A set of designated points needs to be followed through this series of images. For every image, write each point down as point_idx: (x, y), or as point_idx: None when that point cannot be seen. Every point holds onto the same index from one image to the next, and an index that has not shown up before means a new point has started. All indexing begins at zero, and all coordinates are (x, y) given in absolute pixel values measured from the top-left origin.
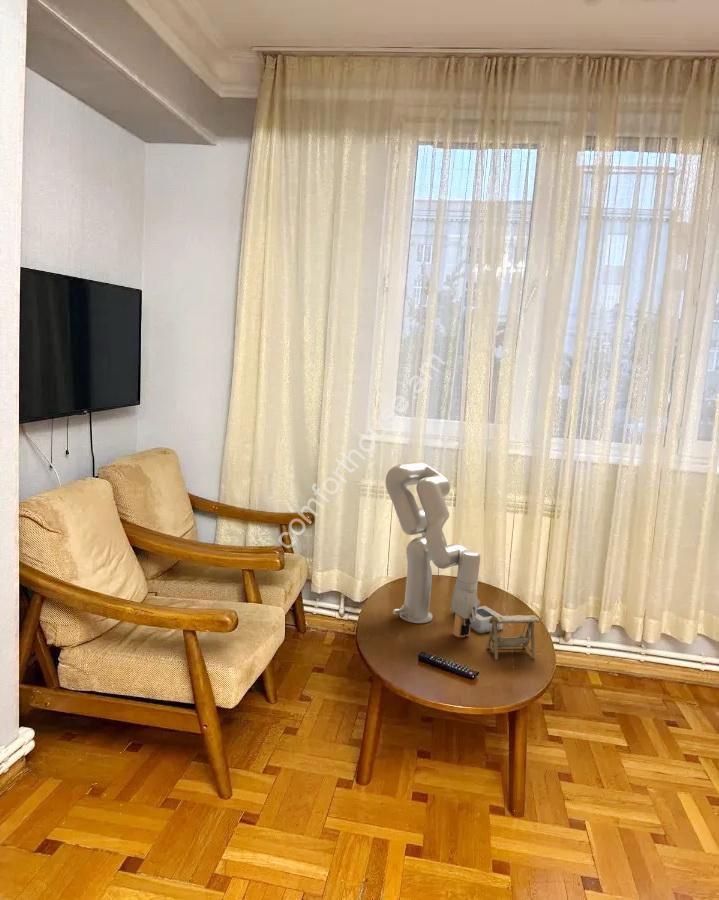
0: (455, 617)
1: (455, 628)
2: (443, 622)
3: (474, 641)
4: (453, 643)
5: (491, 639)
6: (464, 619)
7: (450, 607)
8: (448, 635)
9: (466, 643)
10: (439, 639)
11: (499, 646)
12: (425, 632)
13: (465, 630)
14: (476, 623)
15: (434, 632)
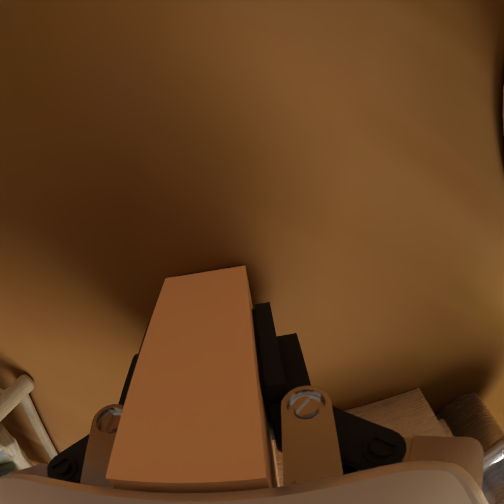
0: (245, 422)
1: (217, 312)
2: (468, 280)
3: (110, 365)
4: (66, 187)
5: (5, 429)
6: (96, 473)
7: (463, 479)
8: (242, 211)
9: (71, 299)
10: (165, 74)
11: (33, 427)
12: (356, 14)
13: (130, 378)
14: (278, 470)
15: (341, 98)
